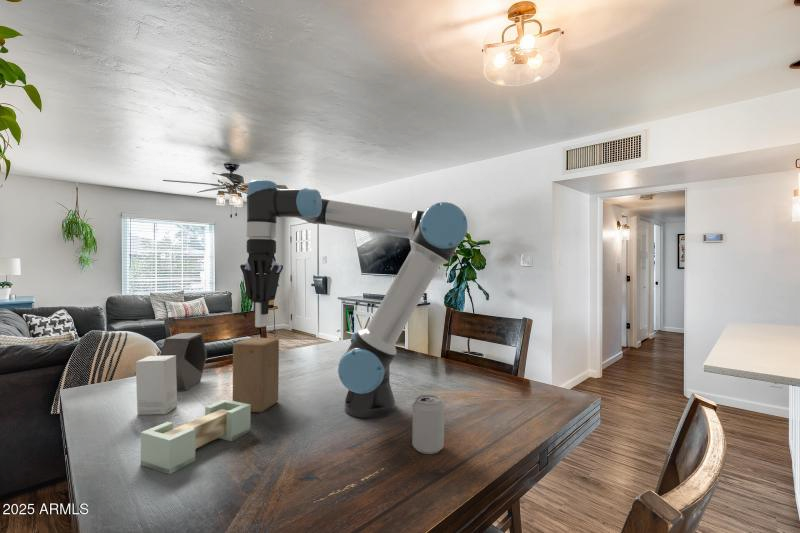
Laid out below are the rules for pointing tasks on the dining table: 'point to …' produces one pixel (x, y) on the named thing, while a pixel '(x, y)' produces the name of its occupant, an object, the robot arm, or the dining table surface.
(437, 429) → the can
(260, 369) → the wooden block
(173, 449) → the end caps
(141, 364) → the skincare box
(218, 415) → the slat
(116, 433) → the dining table surface
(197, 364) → the planter
